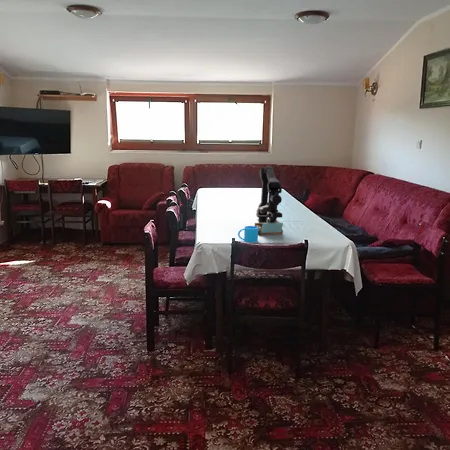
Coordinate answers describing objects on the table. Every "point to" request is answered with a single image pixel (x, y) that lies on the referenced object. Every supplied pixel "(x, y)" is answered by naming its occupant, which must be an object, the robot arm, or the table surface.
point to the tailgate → (272, 227)
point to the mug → (250, 234)
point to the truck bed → (265, 233)
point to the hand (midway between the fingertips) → (271, 225)
